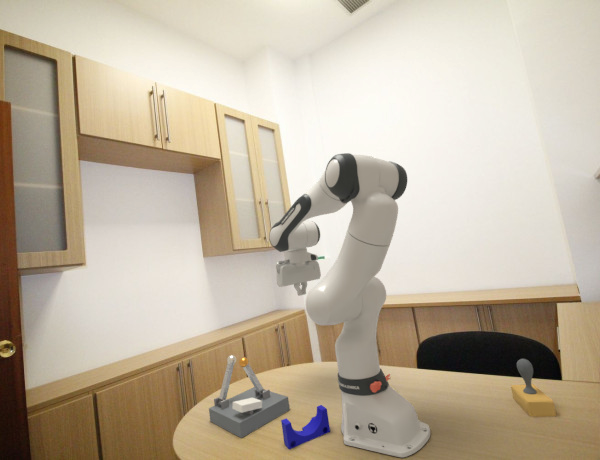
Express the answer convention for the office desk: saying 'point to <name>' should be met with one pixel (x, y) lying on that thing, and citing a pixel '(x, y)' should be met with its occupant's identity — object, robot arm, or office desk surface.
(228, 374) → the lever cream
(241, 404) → the white rectangular block
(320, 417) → the cable clip
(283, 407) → the panel
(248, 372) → the lever orange
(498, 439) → the office desk surface
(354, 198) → the robot arm
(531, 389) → the rubber stamp
